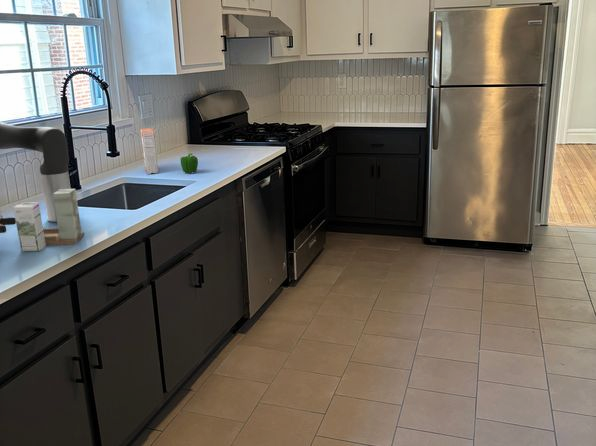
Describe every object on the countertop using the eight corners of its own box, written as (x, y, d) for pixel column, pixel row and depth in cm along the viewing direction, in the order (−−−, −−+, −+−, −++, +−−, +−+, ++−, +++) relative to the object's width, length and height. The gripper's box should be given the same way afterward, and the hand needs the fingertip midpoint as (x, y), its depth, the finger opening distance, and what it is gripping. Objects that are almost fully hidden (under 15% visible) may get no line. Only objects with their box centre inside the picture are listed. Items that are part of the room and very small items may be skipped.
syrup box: (46, 245, 184) (39, 201, 180) (39, 251, 179) (31, 206, 174) (28, 246, 184) (20, 201, 180) (20, 252, 178) (12, 206, 174)
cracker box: (144, 169, 297) (140, 128, 291) (156, 168, 299) (152, 127, 293) (146, 174, 284) (141, 132, 278) (158, 173, 286) (154, 131, 280)
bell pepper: (179, 172, 289) (177, 152, 286) (195, 170, 292) (194, 150, 289) (183, 175, 281) (182, 154, 279) (200, 173, 285) (199, 153, 282)
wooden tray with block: (40, 236, 193) (32, 189, 188) (84, 235, 194) (77, 187, 189) (30, 245, 185) (21, 195, 180) (75, 243, 185) (68, 194, 180)
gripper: (-59, 223, 169) (0, 219, 170) (-39, 210, 182) (16, 206, 184) (-54, 247, 171) (4, 243, 173) (-34, 232, 184) (20, 229, 186)
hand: (10, 224), depth 178 cm, fingers open, 8 cm apart
